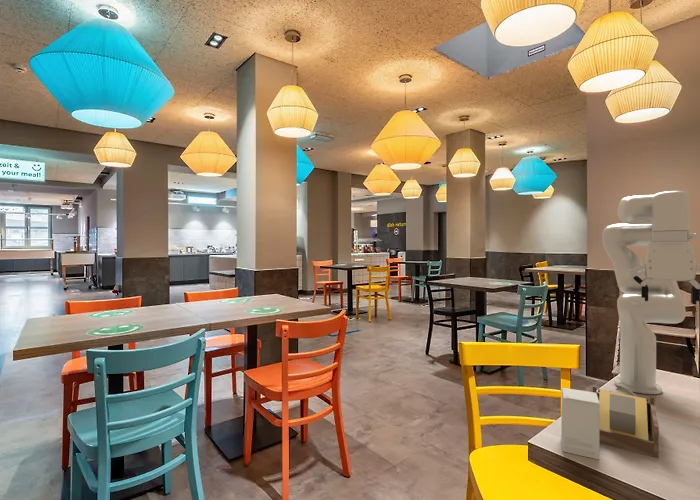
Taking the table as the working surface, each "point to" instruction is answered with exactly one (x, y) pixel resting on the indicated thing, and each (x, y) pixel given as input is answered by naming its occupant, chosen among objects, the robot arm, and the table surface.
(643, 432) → the trapdoor
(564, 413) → the supplement box
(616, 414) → the plain grey carton
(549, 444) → the table surface
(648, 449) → the trapdoor frame
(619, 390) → the ceramic fragment
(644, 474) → the table surface
